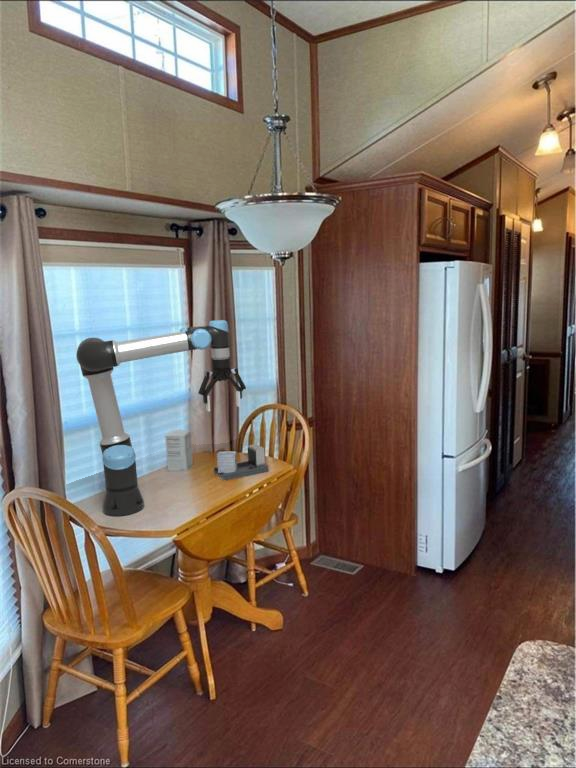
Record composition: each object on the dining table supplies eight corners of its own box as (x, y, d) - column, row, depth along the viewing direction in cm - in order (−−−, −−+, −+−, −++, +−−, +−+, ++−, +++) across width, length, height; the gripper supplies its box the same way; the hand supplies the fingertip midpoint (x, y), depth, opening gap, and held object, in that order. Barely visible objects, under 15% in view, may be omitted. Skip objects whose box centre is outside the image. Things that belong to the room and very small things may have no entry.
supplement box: (174, 464, 267) (171, 429, 264) (193, 464, 266) (190, 429, 263) (167, 471, 258) (164, 435, 255) (187, 471, 257) (184, 435, 254)
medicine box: (237, 469, 251) (236, 451, 249) (235, 473, 246) (234, 454, 245) (220, 470, 252) (219, 451, 250) (217, 473, 247) (216, 454, 246)
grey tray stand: (224, 480, 242) (222, 457, 240) (213, 473, 252) (212, 450, 251) (268, 471, 252) (267, 448, 250) (256, 464, 262) (255, 442, 260)
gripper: (244, 354, 241) (247, 403, 245) (188, 360, 229) (192, 411, 233) (252, 356, 235) (254, 406, 238) (194, 362, 223) (198, 414, 227)
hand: (223, 408), depth 236 cm, fingers open, 13 cm apart
